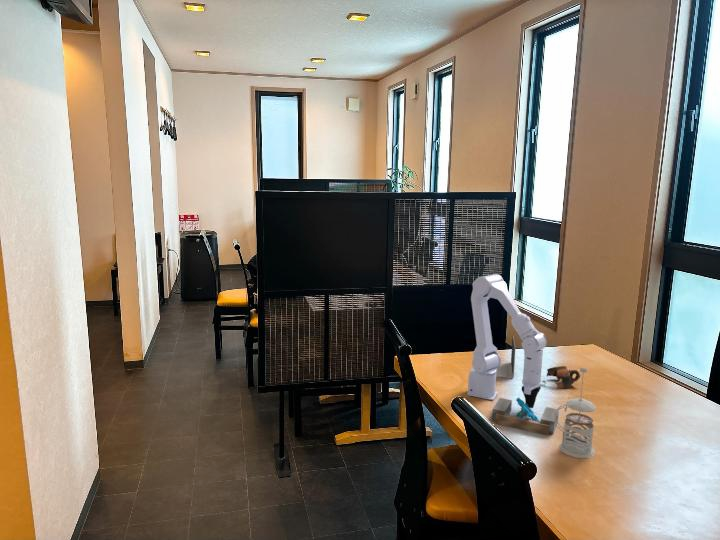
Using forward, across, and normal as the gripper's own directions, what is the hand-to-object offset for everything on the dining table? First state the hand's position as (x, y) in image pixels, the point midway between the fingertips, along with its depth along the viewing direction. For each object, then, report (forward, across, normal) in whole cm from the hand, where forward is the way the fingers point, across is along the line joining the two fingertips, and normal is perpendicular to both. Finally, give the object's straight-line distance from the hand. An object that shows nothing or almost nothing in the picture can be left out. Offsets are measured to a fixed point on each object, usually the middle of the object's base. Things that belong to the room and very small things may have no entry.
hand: (529, 407), depth 177 cm
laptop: (+2, +34, +20) cm, 40 cm away
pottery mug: (+2, +31, -6) cm, 32 cm away
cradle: (+1, -9, 0) cm, 9 cm away
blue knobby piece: (+2, -8, -1) cm, 8 cm away
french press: (+2, -20, -16) cm, 26 cm away
